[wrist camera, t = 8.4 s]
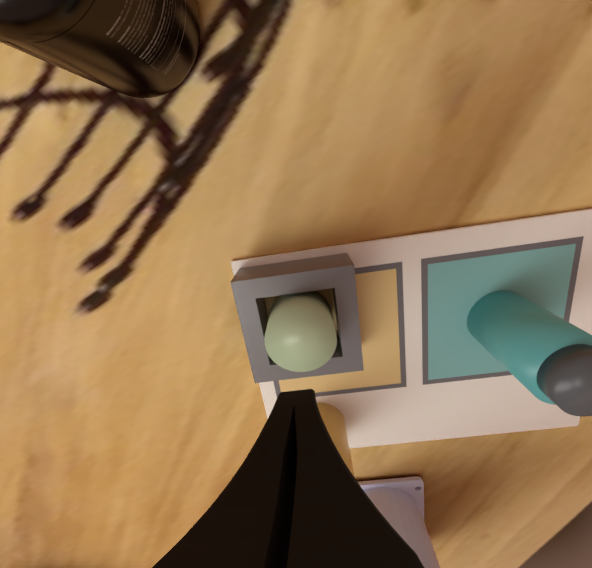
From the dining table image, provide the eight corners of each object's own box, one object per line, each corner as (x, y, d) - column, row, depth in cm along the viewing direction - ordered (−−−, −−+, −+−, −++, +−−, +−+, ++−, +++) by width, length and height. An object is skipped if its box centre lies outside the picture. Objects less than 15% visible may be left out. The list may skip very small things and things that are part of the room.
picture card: (575, 422, 24) (578, 426, 24) (276, 452, 26) (276, 456, 25) (620, 203, 18) (626, 204, 18) (231, 260, 20) (230, 262, 20)
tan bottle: (346, 439, 25) (363, 540, 18) (297, 444, 25) (296, 545, 18) (341, 400, 23) (358, 493, 16) (290, 405, 23) (285, 499, 17)
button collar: (355, 345, 22) (363, 370, 19) (260, 356, 22) (254, 383, 20) (346, 251, 20) (354, 264, 17) (240, 266, 20) (230, 282, 17)
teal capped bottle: (524, 340, 21) (628, 419, 14) (465, 346, 21) (540, 426, 15) (531, 287, 20) (651, 346, 13) (468, 294, 20) (553, 355, 13)
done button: (334, 338, 20) (340, 367, 17) (275, 346, 21) (271, 375, 18) (327, 283, 19) (332, 304, 16) (264, 291, 19) (257, 314, 16)
